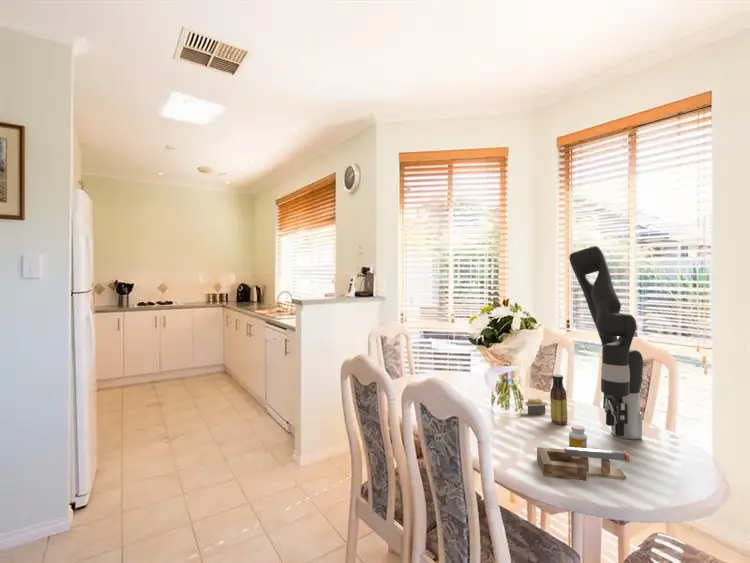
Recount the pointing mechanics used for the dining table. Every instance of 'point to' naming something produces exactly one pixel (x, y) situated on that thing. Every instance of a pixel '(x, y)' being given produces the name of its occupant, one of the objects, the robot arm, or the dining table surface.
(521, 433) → the dining table surface
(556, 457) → the socket
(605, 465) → the mount
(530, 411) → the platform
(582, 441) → the supplement bottle
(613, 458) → the grey bar
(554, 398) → the sauce bottle
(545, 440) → the dining table surface
